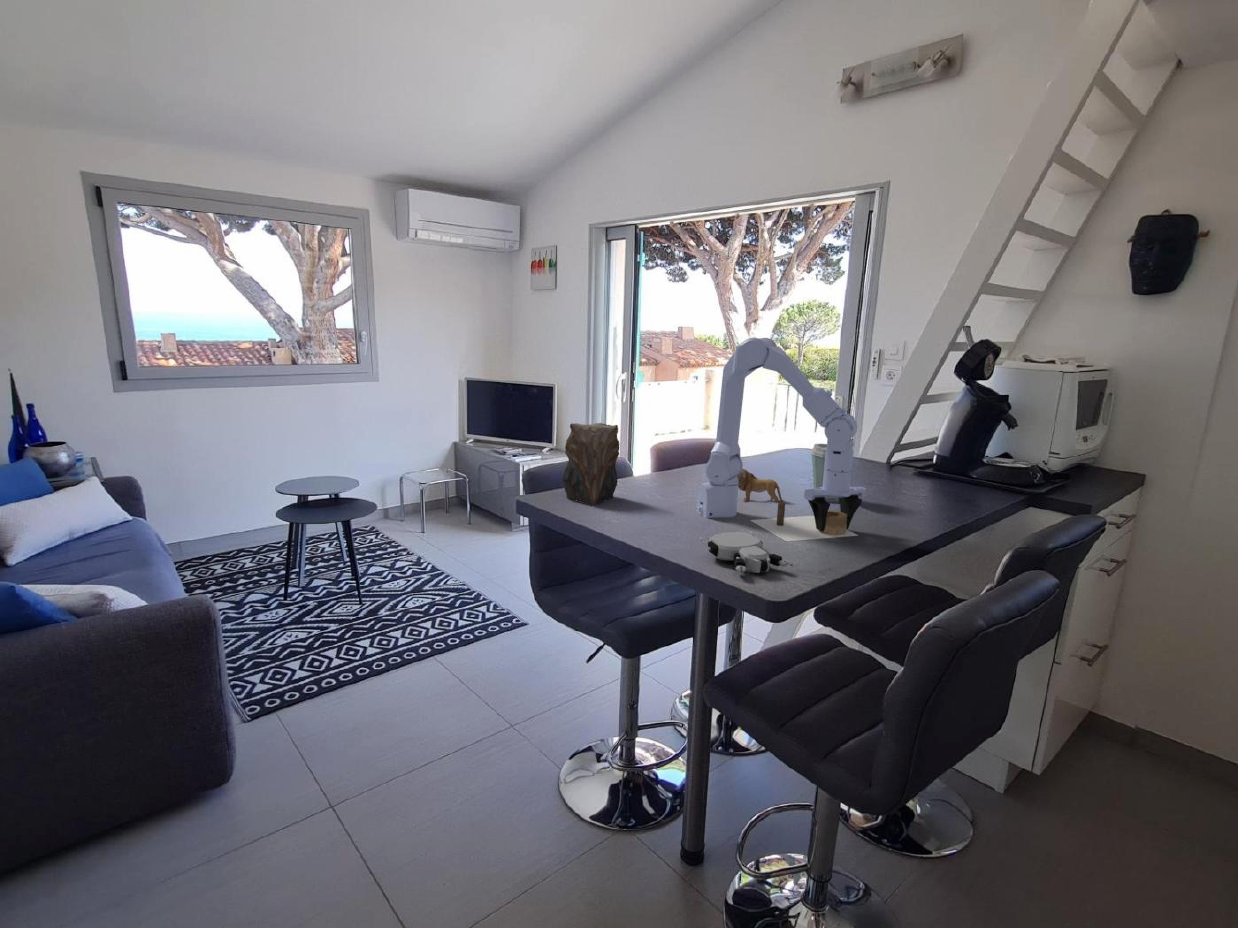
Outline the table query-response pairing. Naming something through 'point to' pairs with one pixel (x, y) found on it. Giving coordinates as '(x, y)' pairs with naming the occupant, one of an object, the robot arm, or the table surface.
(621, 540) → the table surface
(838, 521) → the oak bead
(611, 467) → the owl
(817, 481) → the disposable coffee cup
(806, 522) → the white flat rectangular panel
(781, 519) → the rod
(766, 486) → the lion figurine
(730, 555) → the robot toy
